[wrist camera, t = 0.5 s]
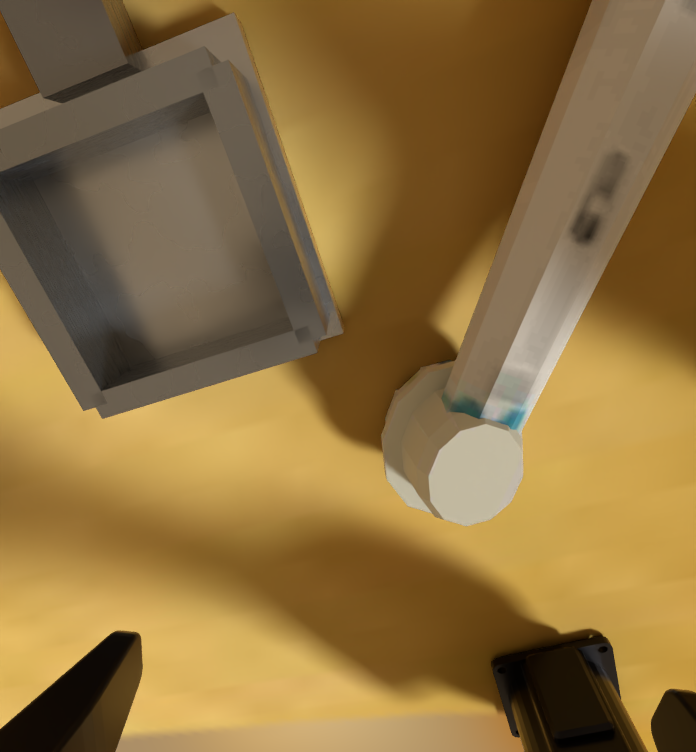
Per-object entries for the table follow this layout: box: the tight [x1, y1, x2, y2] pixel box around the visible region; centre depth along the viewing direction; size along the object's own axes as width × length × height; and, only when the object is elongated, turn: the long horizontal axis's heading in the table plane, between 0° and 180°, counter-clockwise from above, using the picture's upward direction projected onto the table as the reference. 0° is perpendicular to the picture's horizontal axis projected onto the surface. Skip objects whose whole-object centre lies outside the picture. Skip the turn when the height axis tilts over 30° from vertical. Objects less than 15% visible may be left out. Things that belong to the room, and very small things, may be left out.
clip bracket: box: [0, 0, 344, 419], centre depth 16 cm, size 14×10×4 cm
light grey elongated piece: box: [381, 0, 696, 526], centre depth 16 cm, size 5×7×25 cm
